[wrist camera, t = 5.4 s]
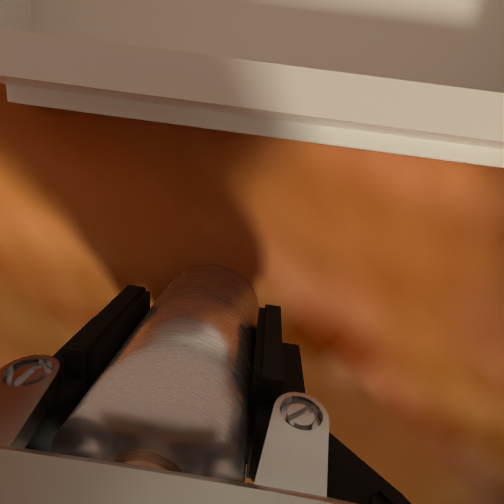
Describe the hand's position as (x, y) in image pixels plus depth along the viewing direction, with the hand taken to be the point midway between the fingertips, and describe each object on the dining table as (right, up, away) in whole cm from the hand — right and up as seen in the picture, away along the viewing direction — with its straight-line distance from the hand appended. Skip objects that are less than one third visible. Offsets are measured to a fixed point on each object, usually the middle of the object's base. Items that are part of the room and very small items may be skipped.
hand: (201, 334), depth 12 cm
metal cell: (0, +1, +2) cm, 2 cm away
